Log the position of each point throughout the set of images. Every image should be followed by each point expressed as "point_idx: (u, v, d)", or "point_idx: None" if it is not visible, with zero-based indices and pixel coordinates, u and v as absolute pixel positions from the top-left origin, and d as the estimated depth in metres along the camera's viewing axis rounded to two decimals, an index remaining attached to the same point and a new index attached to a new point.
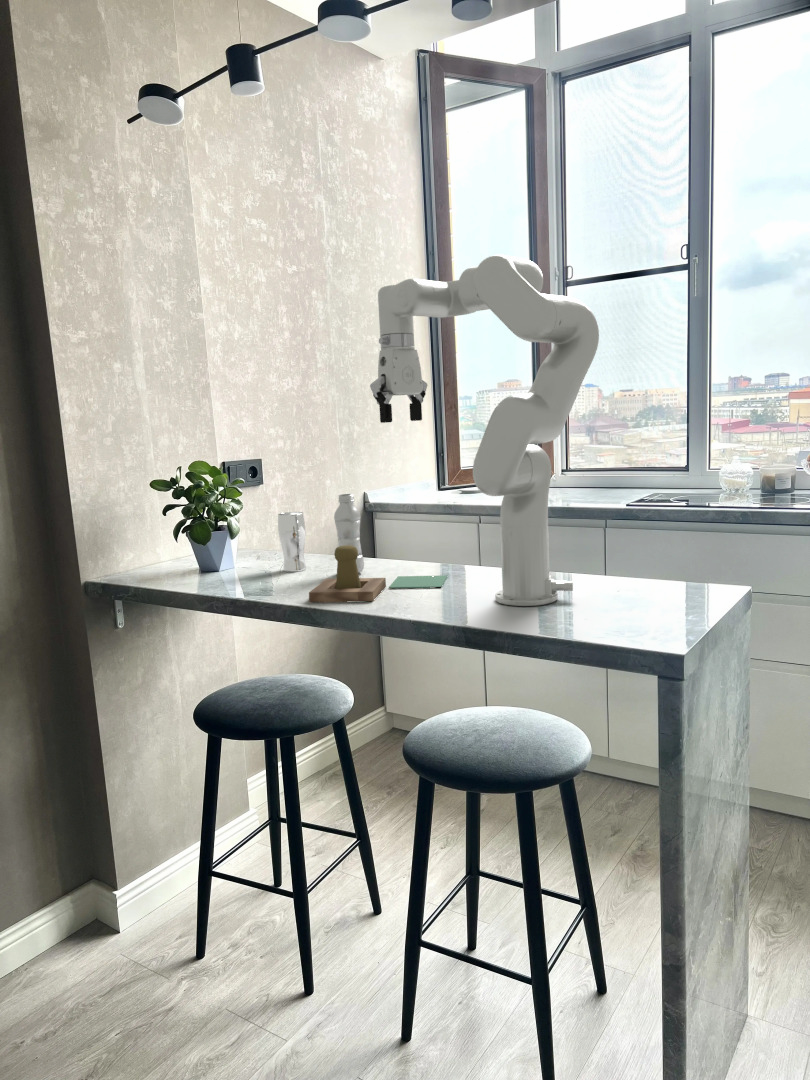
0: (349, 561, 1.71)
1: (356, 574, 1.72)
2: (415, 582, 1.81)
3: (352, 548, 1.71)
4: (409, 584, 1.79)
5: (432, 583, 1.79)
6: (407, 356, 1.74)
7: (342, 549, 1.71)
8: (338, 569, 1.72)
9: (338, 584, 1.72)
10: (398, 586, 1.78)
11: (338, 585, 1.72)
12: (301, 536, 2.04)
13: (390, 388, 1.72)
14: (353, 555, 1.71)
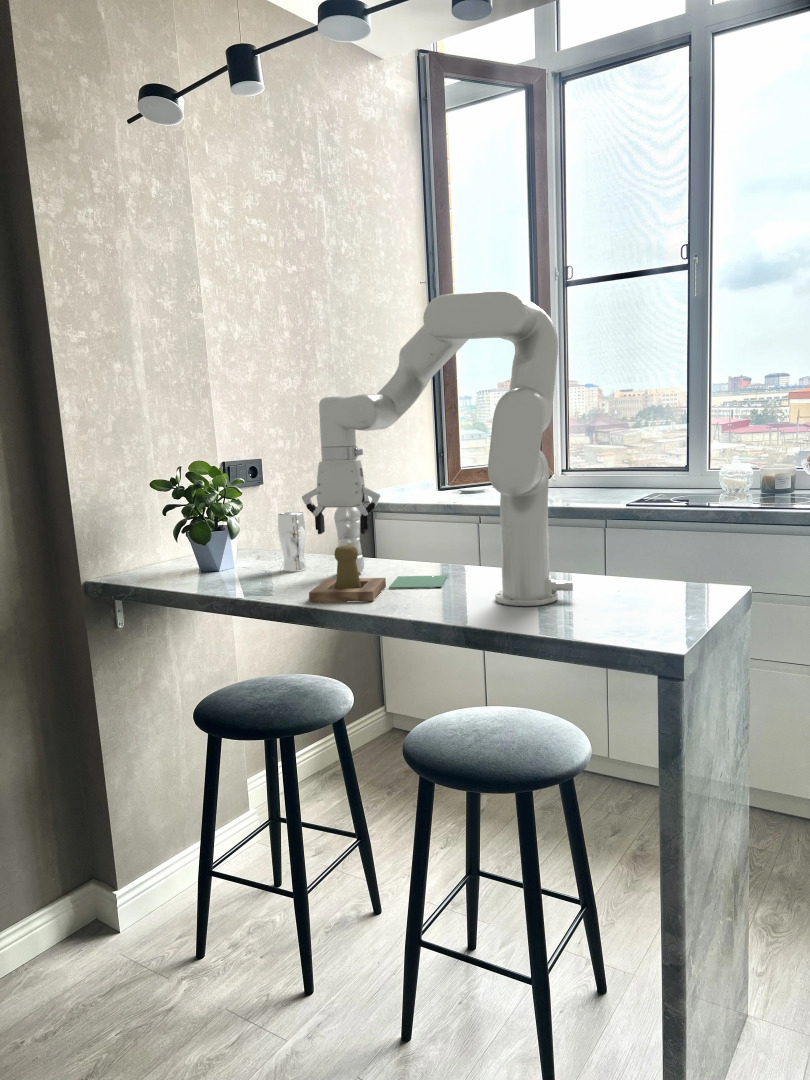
0: (349, 561, 1.71)
1: (356, 574, 1.72)
2: (415, 582, 1.81)
3: (352, 548, 1.71)
4: (409, 584, 1.79)
5: (432, 583, 1.79)
6: None
7: (342, 549, 1.71)
8: (338, 569, 1.72)
9: (338, 584, 1.72)
10: (398, 586, 1.78)
11: (338, 585, 1.72)
12: (301, 536, 2.04)
13: (365, 498, 1.72)
14: (353, 555, 1.71)
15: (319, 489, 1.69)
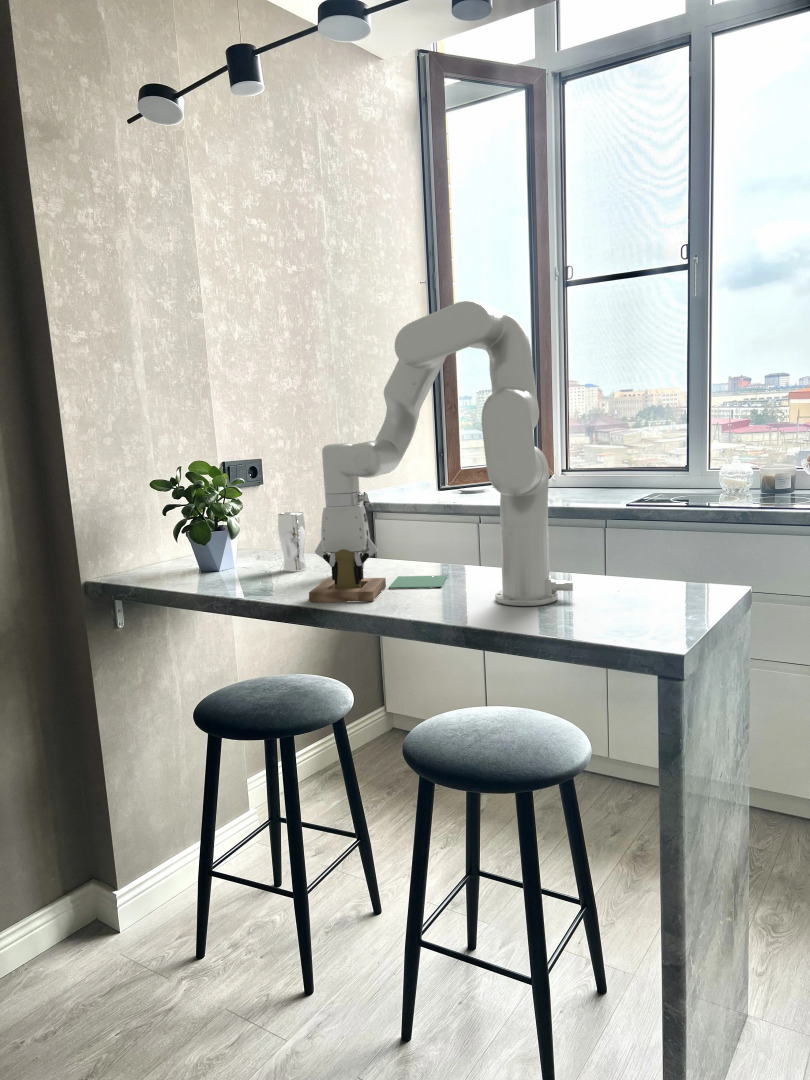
0: (349, 561, 1.71)
1: None
2: (415, 582, 1.81)
3: None
4: (409, 584, 1.79)
5: (432, 583, 1.79)
6: None
7: (342, 549, 1.71)
8: (338, 569, 1.72)
9: (338, 584, 1.72)
10: (398, 586, 1.78)
11: (338, 584, 1.72)
12: (301, 536, 2.04)
13: None
14: (353, 554, 1.71)
15: (324, 535, 1.71)
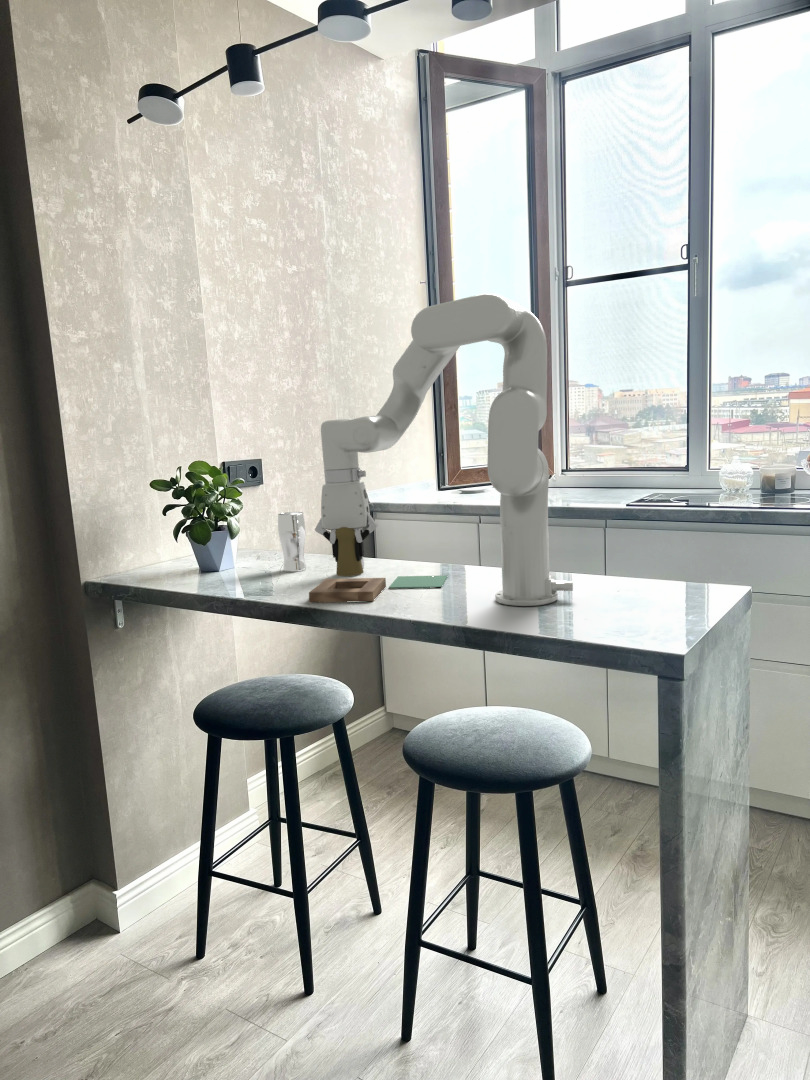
0: (350, 539, 1.70)
1: None
2: (415, 582, 1.81)
3: None
4: (409, 584, 1.79)
5: (432, 583, 1.79)
6: None
7: (342, 527, 1.70)
8: (338, 547, 1.71)
9: (339, 562, 1.71)
10: (398, 586, 1.78)
11: (339, 563, 1.71)
12: (301, 536, 2.04)
13: None
14: (353, 532, 1.70)
15: (324, 512, 1.70)
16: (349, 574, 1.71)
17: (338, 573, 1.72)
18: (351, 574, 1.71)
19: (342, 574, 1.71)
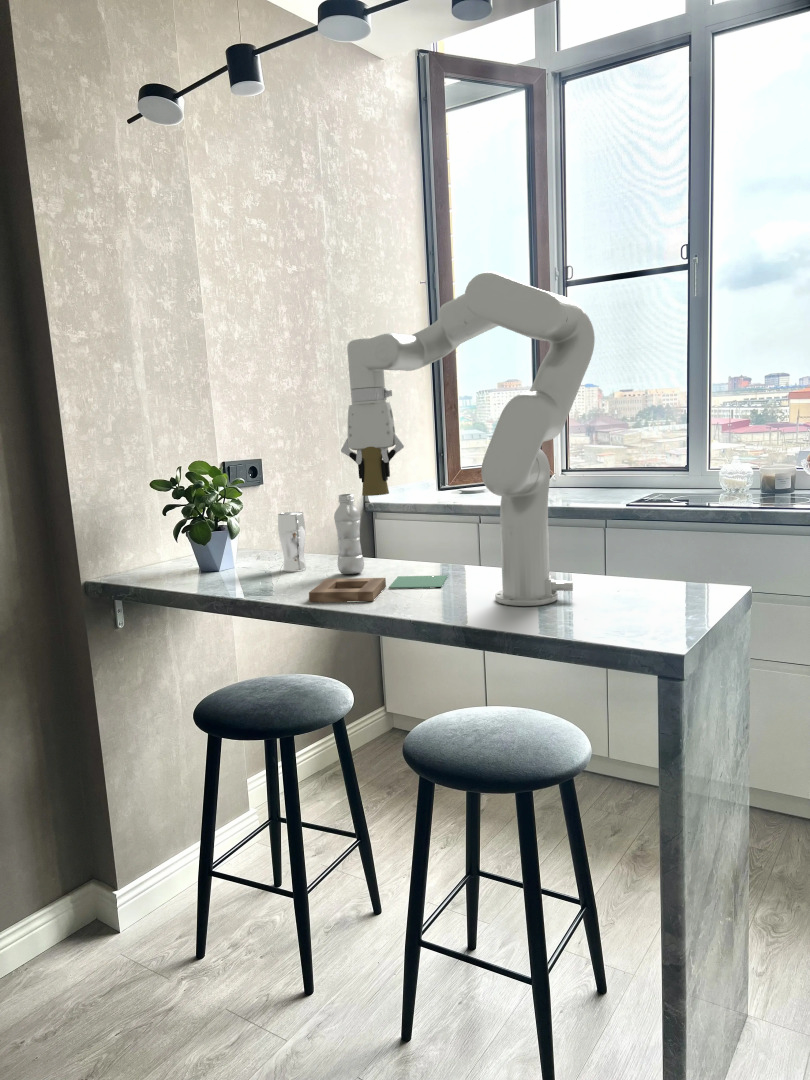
0: (376, 459, 1.71)
1: None
2: (415, 582, 1.81)
3: None
4: (409, 584, 1.79)
5: (432, 583, 1.79)
6: None
7: None
8: (365, 467, 1.72)
9: (365, 482, 1.72)
10: (398, 586, 1.78)
11: (365, 483, 1.72)
12: (301, 536, 2.04)
13: None
14: (380, 452, 1.71)
15: (350, 432, 1.71)
16: (376, 493, 1.72)
17: (364, 493, 1.73)
18: (378, 493, 1.72)
19: (368, 494, 1.72)
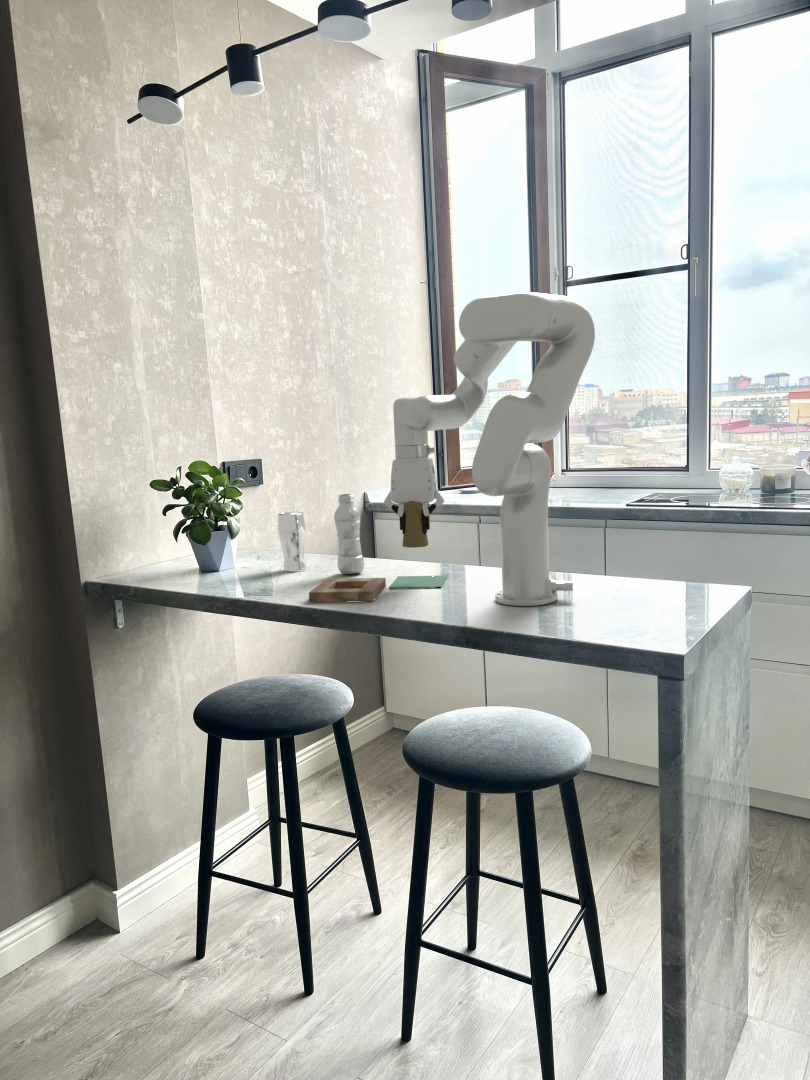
0: (417, 512, 1.78)
1: None
2: (415, 582, 1.81)
3: None
4: (409, 584, 1.79)
5: (432, 583, 1.79)
6: None
7: None
8: (406, 520, 1.79)
9: (406, 534, 1.80)
10: (398, 586, 1.78)
11: (406, 535, 1.80)
12: (301, 536, 2.04)
13: None
14: (421, 506, 1.78)
15: (393, 486, 1.78)
16: (416, 546, 1.79)
17: (405, 544, 1.80)
18: (418, 546, 1.79)
19: (409, 545, 1.79)
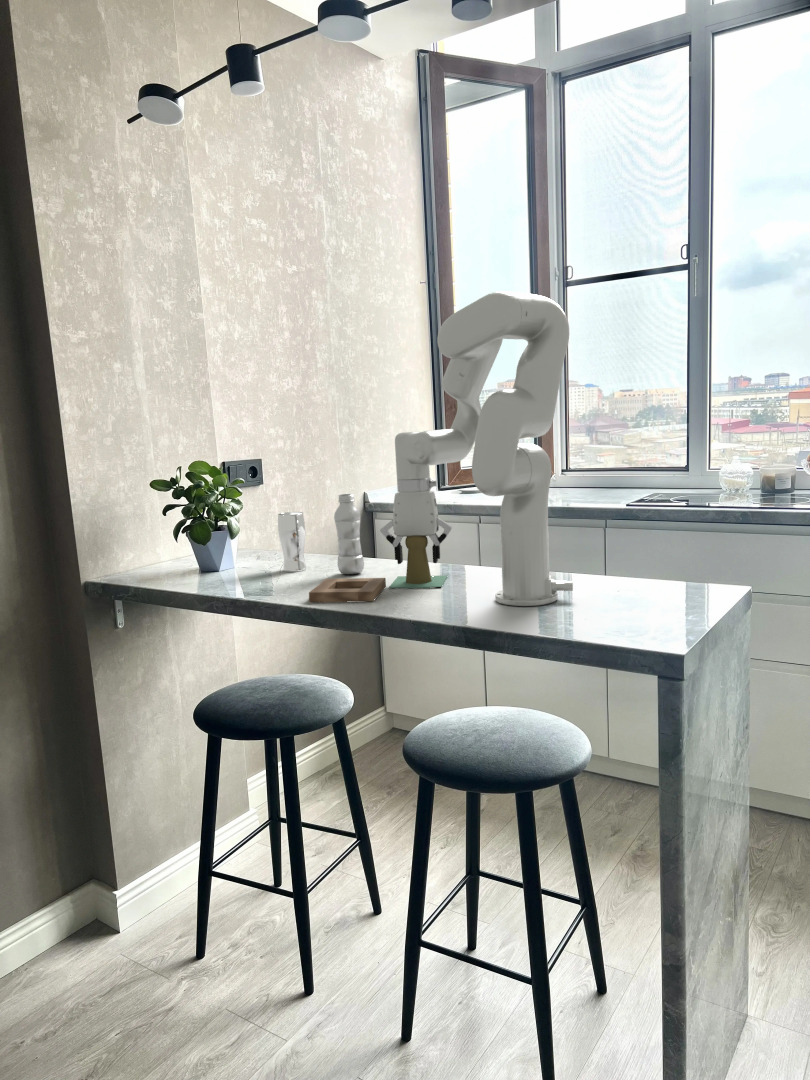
0: (420, 549, 1.79)
1: (426, 561, 1.80)
2: None
3: (422, 536, 1.79)
4: (409, 584, 1.79)
5: (432, 583, 1.79)
6: None
7: (413, 537, 1.79)
8: (409, 556, 1.80)
9: (409, 571, 1.80)
10: (398, 586, 1.78)
11: (409, 571, 1.80)
12: (301, 536, 2.04)
13: (438, 526, 1.82)
14: (424, 543, 1.79)
15: (396, 519, 1.79)
16: (419, 582, 1.80)
17: (408, 581, 1.81)
18: (421, 582, 1.80)
19: (412, 582, 1.80)
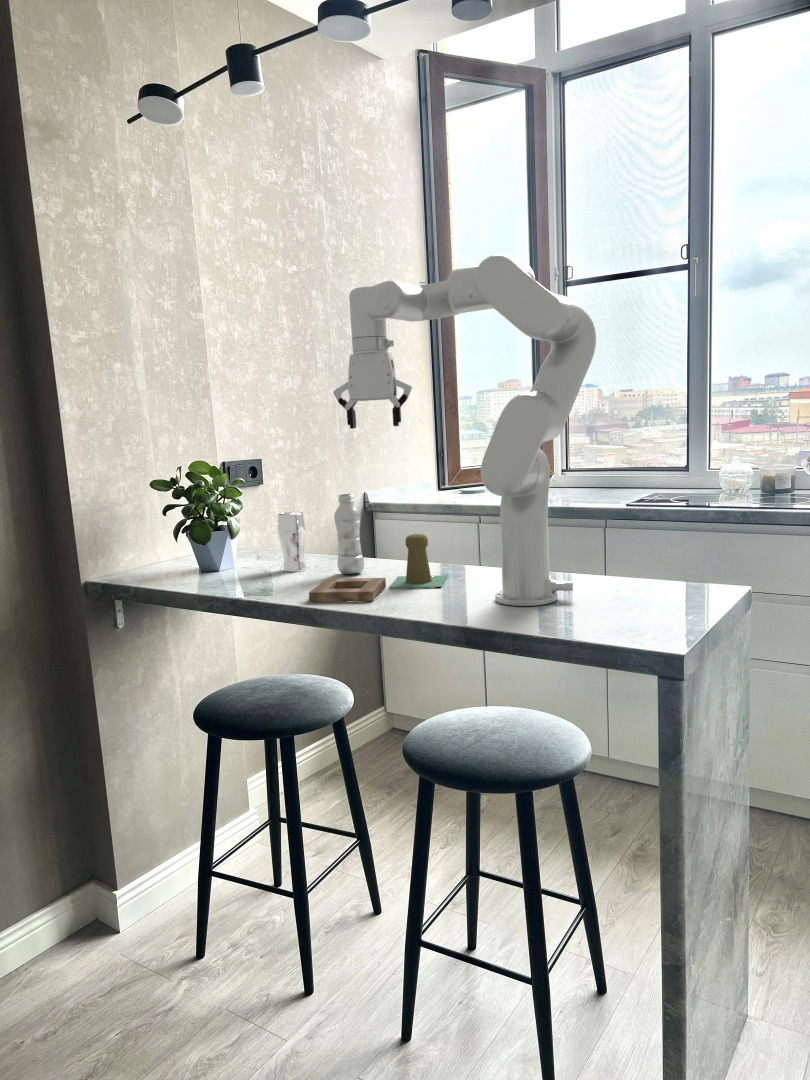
0: (420, 549, 1.79)
1: (426, 561, 1.80)
2: None
3: (423, 536, 1.79)
4: (409, 584, 1.79)
5: (432, 583, 1.79)
6: None
7: (413, 537, 1.79)
8: (409, 556, 1.80)
9: (409, 571, 1.80)
10: (398, 586, 1.78)
11: (409, 571, 1.80)
12: (301, 536, 2.04)
13: (396, 391, 1.72)
14: (424, 543, 1.79)
15: (351, 382, 1.69)
16: (419, 582, 1.80)
17: (408, 581, 1.81)
18: (421, 582, 1.80)
19: (412, 582, 1.80)
